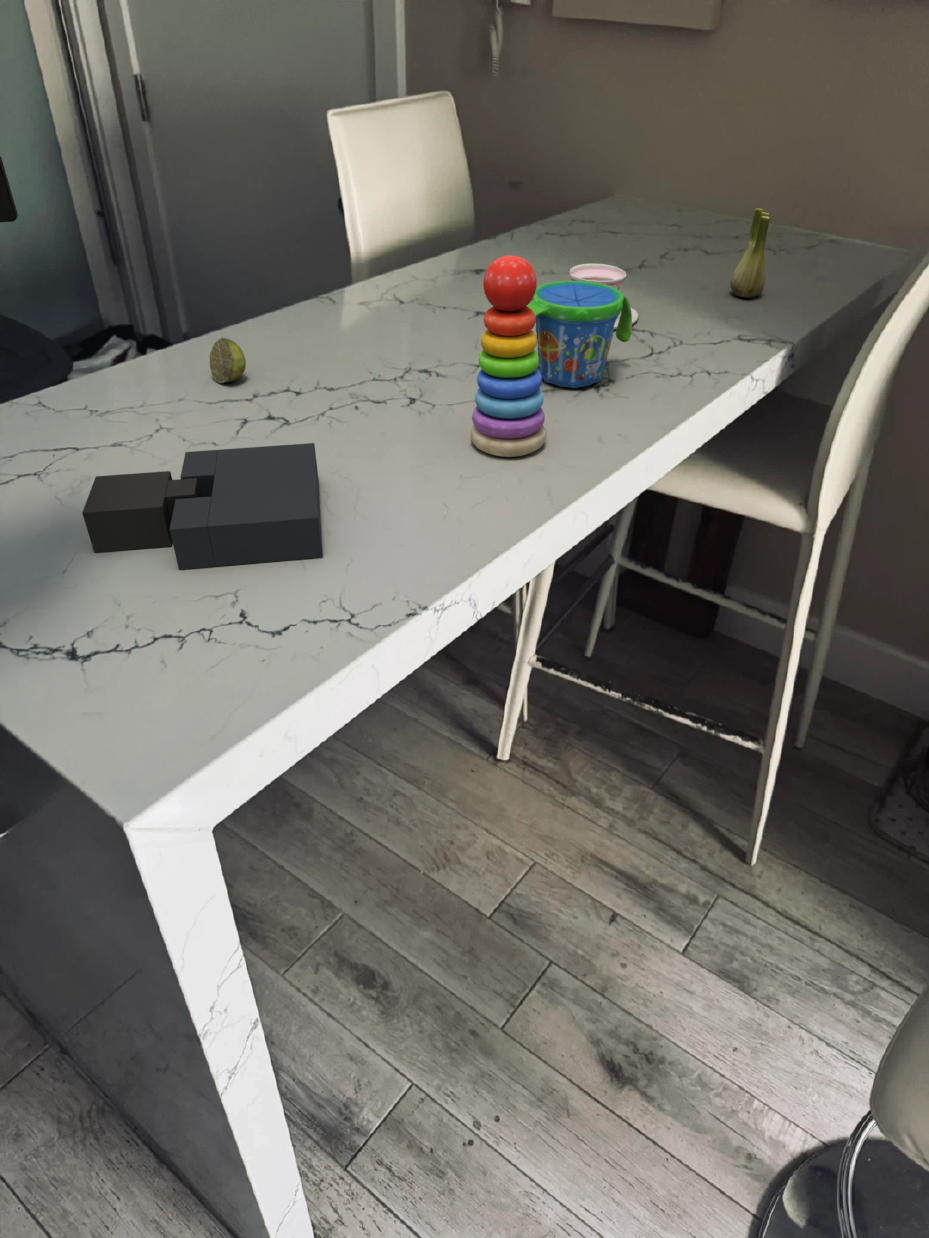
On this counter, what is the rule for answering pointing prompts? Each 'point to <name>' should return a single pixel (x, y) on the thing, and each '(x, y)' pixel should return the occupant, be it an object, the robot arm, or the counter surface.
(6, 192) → the robot arm
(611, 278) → the teacup
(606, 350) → the snack cup
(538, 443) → the stacking toy
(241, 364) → the lime
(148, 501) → the dark tabbed block
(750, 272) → the fennel bulb
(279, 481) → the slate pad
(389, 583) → the counter surface
